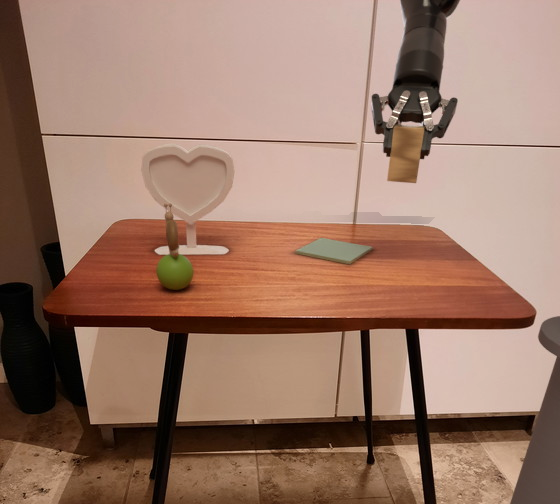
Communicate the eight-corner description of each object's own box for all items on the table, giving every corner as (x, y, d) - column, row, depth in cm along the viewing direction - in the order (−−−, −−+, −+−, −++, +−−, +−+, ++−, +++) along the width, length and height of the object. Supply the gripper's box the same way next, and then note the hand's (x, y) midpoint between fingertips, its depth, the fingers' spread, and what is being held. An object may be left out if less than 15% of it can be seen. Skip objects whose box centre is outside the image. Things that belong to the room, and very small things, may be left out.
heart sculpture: (147, 254, 97) (138, 146, 88) (149, 246, 102) (141, 142, 93) (235, 254, 99) (234, 148, 91) (233, 246, 104) (232, 144, 95)
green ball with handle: (189, 279, 87) (186, 202, 81) (196, 293, 81) (193, 212, 76) (155, 282, 85) (148, 203, 79) (160, 296, 80) (153, 213, 74)
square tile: (372, 250, 105) (372, 246, 104) (349, 264, 96) (350, 261, 96) (321, 240, 109) (321, 237, 109) (295, 253, 101) (295, 250, 101)
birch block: (416, 178, 90) (424, 125, 86) (416, 183, 86) (424, 128, 83) (388, 176, 91) (395, 124, 87) (387, 181, 87) (393, 126, 83)
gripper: (376, 46, 87) (359, 135, 83) (468, 49, 85) (456, 141, 80) (374, 83, 94) (359, 166, 90) (460, 86, 92) (448, 173, 87)
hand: (405, 154), depth 85 cm, fingers closed on birch block, 4 cm apart
